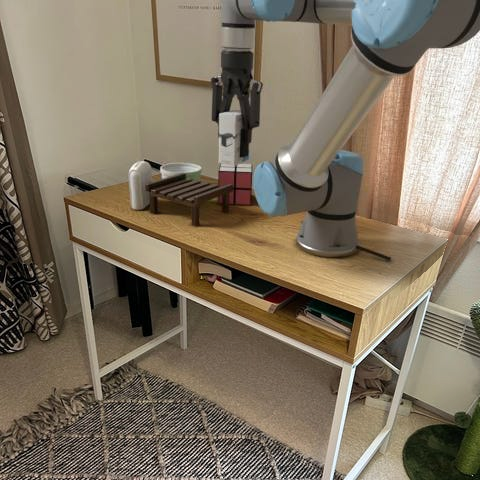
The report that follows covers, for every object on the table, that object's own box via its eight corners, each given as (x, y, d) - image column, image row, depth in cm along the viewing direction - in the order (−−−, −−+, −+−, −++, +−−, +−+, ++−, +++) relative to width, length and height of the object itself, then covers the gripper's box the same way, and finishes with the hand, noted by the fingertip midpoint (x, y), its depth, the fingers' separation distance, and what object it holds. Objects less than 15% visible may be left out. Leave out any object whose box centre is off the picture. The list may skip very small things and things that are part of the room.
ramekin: (174, 181, 166) (173, 160, 162) (208, 186, 162) (208, 165, 158) (153, 191, 156) (152, 169, 152) (189, 197, 151) (189, 174, 148)
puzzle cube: (250, 205, 146) (252, 172, 141) (217, 204, 146) (218, 170, 141) (250, 195, 155) (252, 163, 150) (219, 194, 155) (220, 162, 150)
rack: (232, 212, 141) (233, 184, 136) (197, 227, 129) (197, 197, 125) (183, 199, 149) (183, 172, 145) (147, 212, 138) (145, 183, 134)
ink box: (233, 156, 128) (234, 108, 122) (249, 159, 126) (252, 110, 120) (217, 163, 121) (218, 113, 115) (234, 166, 119) (236, 115, 113)
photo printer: (141, 199, 148) (138, 157, 142) (155, 200, 148) (152, 158, 141) (129, 209, 139) (125, 166, 133) (143, 211, 139) (140, 167, 132)
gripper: (280, 52, 109) (272, 158, 121) (215, 46, 117) (214, 146, 130) (262, 53, 103) (255, 163, 116) (195, 47, 112) (196, 150, 124)
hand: (234, 154), depth 123 cm, fingers closed on ink box, 5 cm apart
